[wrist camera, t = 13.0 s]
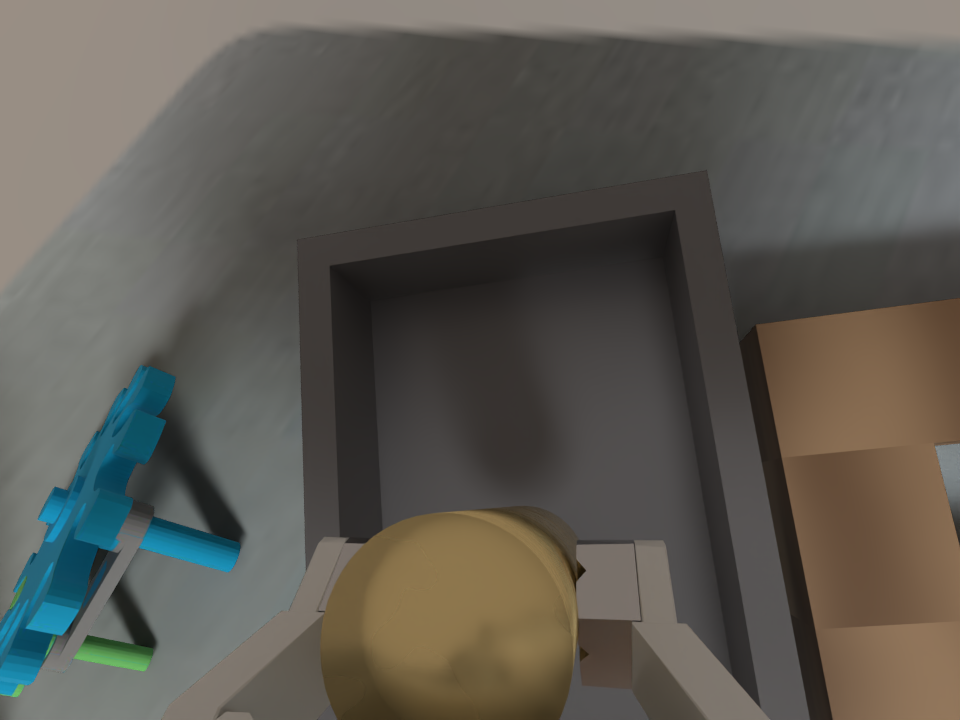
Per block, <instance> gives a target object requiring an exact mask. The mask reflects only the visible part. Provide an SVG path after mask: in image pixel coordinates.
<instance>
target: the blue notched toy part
mask: <svg viewBox="0 0 960 720" xmlns="http://www.w3.org/2000/svg"><path fill="white" fill-rule="evenodd" d="M175 379H176V377H175V376H172V375H170V374H168V373H165V372H163V371H160V370H158V369H156V368H153V367H151V366H149V367H148V368H147V367H145V366H143V365H140V367H139V368H138V370H137V372H136V374H135V375H134V377H133V379H132V381H131V383H130V385H129V387H128V389H126V388H123V390H122V391H121V392H120V393H119V395H118V396H117V398H116V399H115V401H114V403H113V405H112V407H111V409H110V411H109V414H108V416H107V419H106V421H105V423H104V425H103V428H102V430H101V432H98V431H97V432H96V433H95V434H94V436H93V438H92V439H91V441H90V442H89V444H88V446H87V447H86V449H85V451H84V453H83V455H82V457H81V459H80V462H79V466H78V469H77V472H76V475H75V477H74V479H73V482H72V483H71V485H70V486H69V488H68V490H64V489H61V488H58V487H54V489H53V490H52V492H51V493H50V495H49V497H48V499H47V501H46V502H45V504H44V506H43V508H42V510H41V512H40V515H39V517H38V520H40V521H44V522H47V523H46V525H48V526H49V527H48V529H47V532H46V534H45V537H44V541H43V543H42V545H41V547H40V549H39V551H38V553H37V554H36V553H33V554H32V555H31V556H30V558H29V560H28V562H27V564H26V566H25V568H24V570H23V572H22V574H21V576H20V578H19V580H18V582H17V584H16V586H15V588H14V591H13V592H16V595H15V597H14V599H13V601H12V604H11V606H10V609H9V610H8V611H7V612H6V614H5V616H4V617H3V619H2V621H1V623H0V695H5V696H12V697H18V696H19V694H20V693H21V691H22V690H23V688H24V686H25V685H30V684H31V683H32V682H34V680H35V678H36V676H37V674H38V672H39V670H40V669H42V670H48V671H54V672H60V673H64V672H65V671H66V670H67V668H68V667H69V665H70V664H71V662H72V660H73V659H79V660H84V661H89V662H95V663H100V664H106V665H111V666H117V667H122V668H128V669H133V670H139V671H145V670H146V669H147V667H148V665H149V663H150V661H151V658H152V655H153V648H148V647H144V646H139V645H134V644H129V643H124V642H119V641H114V640H109V639H104V638H99V637H94V636H89V635H88V633H89V631H90V630H91V628H92V626H93V625H94V623H95V621H96V619H97V618H98V616H99V614H100V613H101V611H102V609H103V608H104V606H105V604H106V602H107V601H108V599H109V597H110V596H111V594H112V592H113V590H114V589H115V587H116V585H117V584H118V582H119V580H120V579H121V577H122V575H123V573H124V572H125V570H126V568H127V567H128V565H129V563H130V562H131V560H132V558H133V556H134V555H135V553H136V551H137V550H138V548H141V549H145V550H149V551H152V552H156V553H159V554H163V555H167V556H170V557H174V558H178V559H181V560H185V561H188V562H192V563H196V564H199V565H203V566H206V567H210V568H214V569H217V570H221V571H225V572H229V571H230V570H231V569H232V568H233V567H234V565H235V563H236V561H237V559H238V556H239V552H240V543H239V542H235V541H232V540H229V539H226V538H222V537H219V536H216V535H212V534H209V533H206V532H203V531H199V530H196V529H193V528H189V527H186V526H183V525H179V524H176V523H173V522H170V521H166V520H163V519H160V518H156V517H153V514H154V506H151V505H148V504H145V503H141V502H138V501H135V500H133V498H130V497H127V496H125V491H126V486H127V482H128V480H129V477H130V475H131V473H132V471H133V469H134V467H135V465H136V463H137V462H138V463H141V464H146V463H147V461H148V460H149V459H150V457H151V455H152V453H153V451H154V449H155V447H156V445H157V443H158V440H159V438H160V436H161V433H162V431H163V428H164V426H165V423H166V420H163V419H161V418H158V417H156V416H157V415H159V414H160V413H161V411H162V410H163V408H164V407H165V405H166V404H167V402H168V400H169V398H170V396H171V393H172V390H173V387H174V383H175ZM98 548H101V549H105V550H109V552H108V554H107V556H106V557H105V559H104V561H103V562H102V564H101V566H100V568H99V569H98V571H97V573H96V574H95V576H94V578H93V579H92V581H91V583H90V585H89V586H88V579H89V575H90V571H91V568H92V564H93V561H94V559H95V556H96V553H97V550H98Z"/></svg>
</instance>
